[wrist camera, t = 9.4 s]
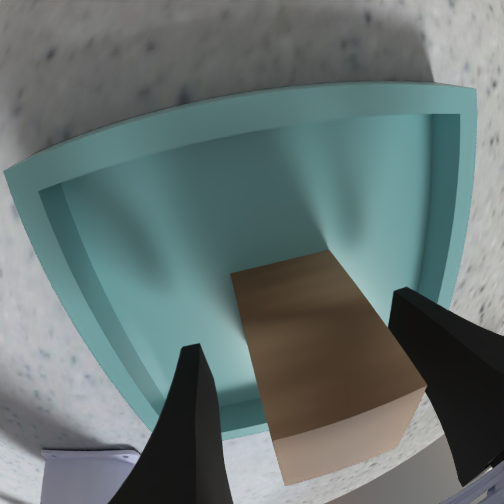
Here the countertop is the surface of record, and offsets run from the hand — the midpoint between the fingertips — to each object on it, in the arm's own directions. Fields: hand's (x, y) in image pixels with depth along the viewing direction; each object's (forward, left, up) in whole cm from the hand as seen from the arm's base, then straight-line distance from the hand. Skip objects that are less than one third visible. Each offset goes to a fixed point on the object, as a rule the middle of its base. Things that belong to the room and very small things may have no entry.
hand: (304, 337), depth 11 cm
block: (0, 0, -3) cm, 3 cm away
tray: (0, 0, -3) cm, 3 cm away
